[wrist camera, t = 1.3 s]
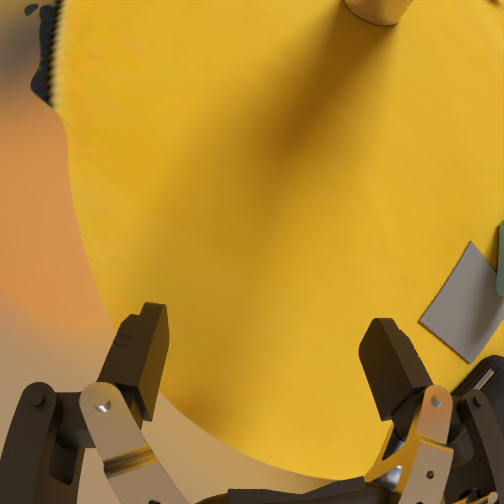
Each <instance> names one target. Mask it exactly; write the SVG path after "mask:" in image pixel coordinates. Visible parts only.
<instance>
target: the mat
mask: <svg viewBox="0 0 504 504" xmlns="http://www.w3.org/2000/svg"><path fill="white" fill-rule="evenodd" d="M496 278H497V274H496V272H495V271H494V270H493V268H492V267H491V266H490V264H489V263H488V262H487V260H486V259H485V258H484V256H483V255H482V254H481V253H480V251H479V250H478V249H477V248H476V246H475V245H474V244H473V243H472V241H470V242H469V243H468V245H467V247H466V249H465V251H464V252H463V254H462V256H461V257H460V259H459V261H458V263H457V264H456V266H455V267H454V269H453V271H452V272H451V274H450V275H449V277H448V279H447V280H446V282H445V283H444V285H443V286H442V288H441V289H440V291H439V292H438V294H437V295H436V296H435V298H434V299H433V301H432V302H431V304H430V305H429V306H428V308H427V309H426V310H425V312H424V313H423V314H422V316H421V317H420V318H419V321H420V322H421V323H423V324H424V325H425V326H426V327H428V328H429V329H430V330H431V331H432V332H434V333H435V334H436V335H437V336H438V337H440V338H441V339H442V340H443V341H444V342H446V343H447V344H448V345H449V346H450V347H452V348H453V349H454V350H455V351H456V352H457V353H459V354H460V355H461V356H462V357H463V358H464V359H466V360H467V361H468V362H469V363H470V364H472V362H473V361H474V360H475V358H476V357H477V356H478V355H479V353H480V352H481V351H482V349H483V348H484V346H485V345H486V344H487V342H488V341H489V339H490V338H491V336H492V335H493V334H494V332H495V331H496V329H497V327H498V326H499V324H500V323H501V321H502V320H503V318H504V297H501V296H500V295H499V294H498V293H497V291H496Z"/></svg>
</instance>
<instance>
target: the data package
mask: <svg viewBox="0 0 504 504" xmlns="http://www.w3.org/2000/svg"><path fill="white" fill-rule="evenodd" d="M496 291H497V293H498V294H499V295H500V296H501V297H504V220H503V221H502V222H501V224H500V227H499V254H498V268H497V278H496Z"/></svg>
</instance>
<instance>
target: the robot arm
mask: <svg viewBox="0 0 504 504" xmlns="http://www.w3.org/2000/svg"><path fill="white" fill-rule="evenodd" d="M412 1H413V0H344V2H345V4H346V5H347V7H348V8H349V9H350V10H351V11H352V12H353V13H354V14H356V15H357V16H359V17H360V18H362V19H364V20H366V21H368V22H371V23H373V24H377V25H383V26H390V25H394V24H396V23H397V22H398V21H399V20H400V18H401V17H402V15H403V14H404V12H405V11H406V10H407V8H408V7H409V5H410V4H411V2H412ZM168 346H169V327H168V317H167V308H166V305H165V304H157V303H150V302H146V303H145V304H144V306H143V308H142V310H141V313H140V315H134V314H130V315H129V316H128V317H127V318H126V319H125V320H124V321H123V322H122V323H121V325H120V327H119V329H118V332H117V335H116V336H115V339H114V341H113V345H111V348H110V350H109V352H108V355H107V357H106V360H105V362H104V365H103V367H102V370H101V372H100V375H99V377H98V379H97V381H96V382H95V383H93V384H91V385H89V386H88V387H86V388H85V389H84V390H83V391H82V392H72V393H71V392H70V393H60V392H58V393H57V392H54V390H53V389H52V388H51V387H50V386H49V385H48V384H46V383H43V382H35V383H32V384H30V385H28V386H27V387H26V388H25V389H24V391H23V393H22V395H21V398H20V400H19V403H18V405H17V408H16V411H15V413H14V416H13V419H12V422H11V425H10V428H9V431H8V434H7V437H6V441H5V444H4V448H3V452H2V455H1V459H0V504H77V495H78V488H79V480H80V474H81V468H82V462H83V457H84V452H85V448H97V450H98V453H99V455H100V457H101V459H102V461H103V464H104V473H105V476H106V478H107V480H108V482H109V484H110V486H111V487H112V489H113V491H114V493H115V494H116V496H117V498H118V500H119V501H120V503H121V504H189V502H188V501H187V500H186V498H185V497H184V496H183V495H182V493H181V492H180V491H179V489H178V488H177V487H176V485H175V484H174V483H173V481H172V480H171V479H170V477H169V475H168V474H167V473H166V471H165V470H164V468H163V467H162V465H161V464H160V462H159V461H158V459H157V458H156V456H155V454H154V453H153V451H152V450H151V448H150V446H149V445H148V443H147V442H146V440H145V438H144V436H143V435H142V433H141V428H142V423H143V420H145V421H151V422H152V418H153V413H154V408H155V403H156V398H157V394H158V390H159V385H160V381H161V376H162V372H163V368H164V364H165V359H166V355H167V351H168ZM359 358H360V361H361V364H362V366H363V369H364V372H365V375H366V377H367V380H368V383H369V386H370V389H371V391H372V394H373V397H374V400H375V403H376V406H377V409H378V412H379V415H380V418H381V421H386V420H391V419H392V421H393V424H392V425H391V426H390V428H389V431H388V433H387V436H386V438H385V441H384V443H383V446H382V448H381V451H380V453H379V455H378V458H377V460H376V462H375V464H374V465H373V467H372V468H371V469H370V470H369V471H368V472H367V473H366V475H365V476H361V477H356V478H352V479H347V480H342V481H337V482H333V483H331V484H328V485H326V486H323V487H321V488H318V489H315V490H313V491H310V492H307V493H304V494H293V493H286V492H279V491H272V490H267V489H228V492H227V493H226V494H220V495H216V496H212V497H209V498H207V499H204V500H202V501H200V502H198V503H196V504H440V502H441V499H442V496H443V494H444V499H445V504H504V438H503V435H502V432H501V430H500V427H499V425H498V422H497V420H496V417H495V415H494V413H493V410H492V408H491V406H490V404H489V402H488V399H487V397H486V396H485V394H484V393H483V392H481V391H480V390H478V389H471V390H470V391H469V392H468V393H467V394H466V395H465V396H464V397H457V396H451V395H450V393H449V392H448V390H446V389H445V388H444V387H442V386H440V385H434V384H433V383H432V381H431V379H430V377H429V375H428V373H427V371H426V369H425V367H424V365H423V363H422V361H421V359H420V357H418V353H417V352H416V350H415V349H414V346H413V344H412V342H411V341H410V339H409V337H407V336H406V335H405V334H404V333H403V332H402V331H401V330H399V329H398V327H397V325H396V323H395V322H394V320H393V319H392V318H374V319H373V320H372V322H371V324H370V326H369V328H368V330H367V331H366V333H365V335H364V337H363V339H362V341H361V343H360V345H359ZM466 430H467V432H468V434H469V437H470V440H471V443H472V446H473V449H474V455H473V457H472V459H471V460H470V461H468V460H467V458H466V455H465V451H464V448H463V445H462V442H461V439H460V435H461V434H463V433H464V432H465V431H466Z"/></svg>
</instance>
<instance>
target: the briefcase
mask: <svg viewBox="0 0 504 504" xmlns="http://www.w3.org/2000/svg"><path fill="white" fill-rule="evenodd" d="M471 389H478V390H480V391H481V392H483V393H484V394H485V396H486V397H487V399H488V402H489V404H490V406H491V408H492V410H493V413H494V415H495V417H496V420H497V422H498V425H499V427H500V430H501V432H502V435H503V438H504V357H502V356H498V355H491V356H489V357H487V358H486V359H484V360H483V361H482V363H481V364H480V365H479V366H478V367H477V369H476V370H475V371H474V372H473V373H472V374H471V375H470V376H469V378H468V379H467V380H466V381H465V382H464V383H463V384H462V385H461V386H460V387H459V388H458V389H457V390H456V391H455V392H454V393H453V394H452V395H451V396H457V397H464V396H465V395H466V394H467V393H468V392H469V391H470V390H471ZM460 439H461V442H462V445H463V448H464V451H465V455H466V458H467V460H468V461H470V460H471V459H472V457H473V455H474V449H473V446H472V443H471V440H470V437H469V434H468V432H467V430H466V431H465V432H464V433H463V434H461V435H460Z"/></svg>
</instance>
